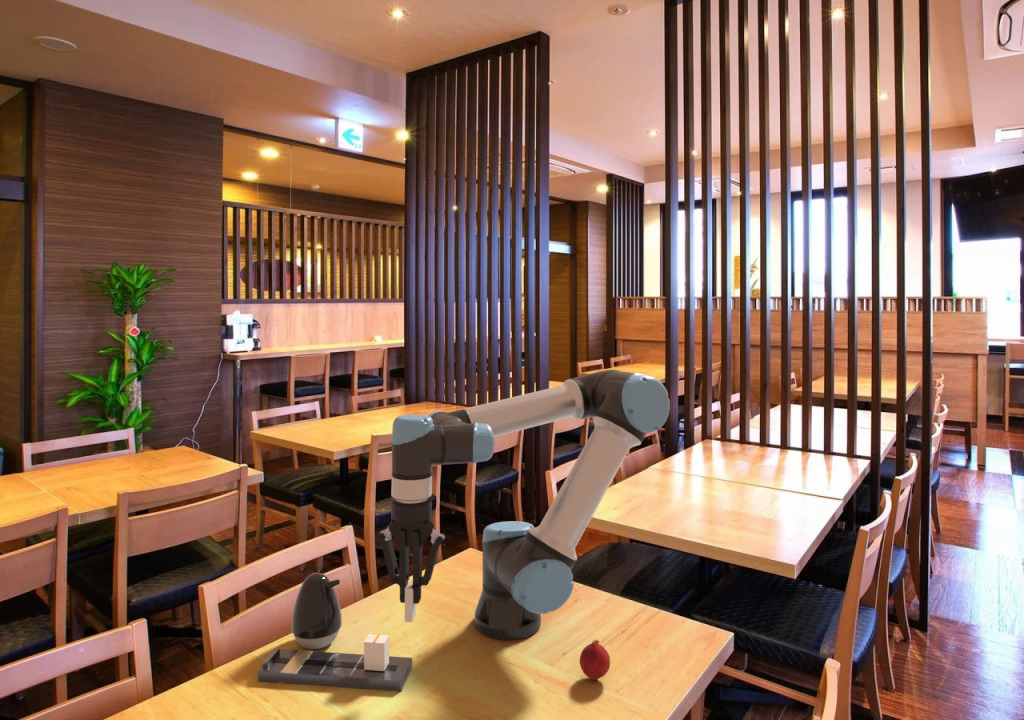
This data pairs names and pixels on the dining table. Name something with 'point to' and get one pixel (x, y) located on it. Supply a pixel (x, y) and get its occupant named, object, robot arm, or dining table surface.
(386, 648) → the fader knob
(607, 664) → the onion
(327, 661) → the console
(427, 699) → the dining table surface
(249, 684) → the dining table surface
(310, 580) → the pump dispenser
